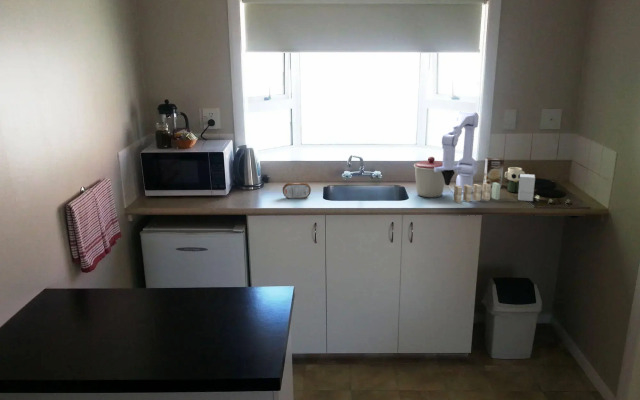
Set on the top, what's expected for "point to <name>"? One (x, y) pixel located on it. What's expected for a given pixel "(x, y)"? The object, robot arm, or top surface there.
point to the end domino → (495, 190)
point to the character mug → (513, 178)
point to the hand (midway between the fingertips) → (447, 184)
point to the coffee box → (493, 171)
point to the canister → (429, 178)
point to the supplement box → (526, 187)
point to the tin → (296, 190)
